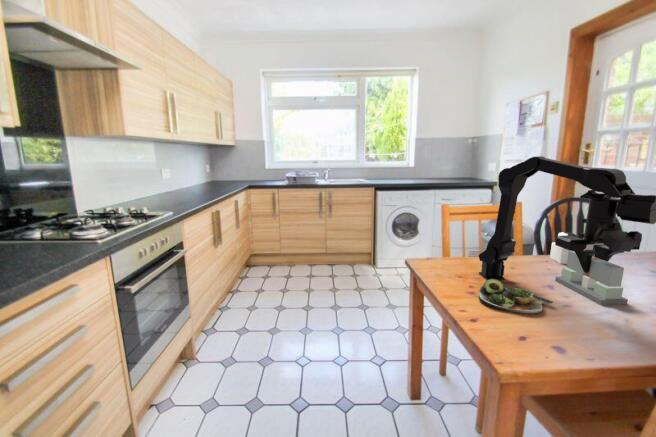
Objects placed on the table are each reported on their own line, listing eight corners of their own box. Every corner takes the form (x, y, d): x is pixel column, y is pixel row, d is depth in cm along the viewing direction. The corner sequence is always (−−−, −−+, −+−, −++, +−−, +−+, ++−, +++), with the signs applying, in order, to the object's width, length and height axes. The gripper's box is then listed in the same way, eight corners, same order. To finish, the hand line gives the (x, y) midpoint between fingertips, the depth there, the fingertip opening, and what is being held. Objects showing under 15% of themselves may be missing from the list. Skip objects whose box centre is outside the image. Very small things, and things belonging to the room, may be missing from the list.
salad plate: (549, 296, 98) (550, 283, 97) (556, 323, 83) (558, 307, 82) (481, 285, 107) (482, 272, 106) (476, 307, 92) (478, 292, 91)
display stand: (600, 304, 91) (603, 289, 90) (555, 280, 109) (557, 267, 108) (626, 304, 91) (629, 288, 90) (577, 280, 109) (579, 266, 108)
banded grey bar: (609, 286, 78) (612, 268, 77) (566, 267, 92) (568, 251, 91) (620, 286, 78) (624, 267, 77) (576, 266, 92) (578, 250, 91)
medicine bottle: (567, 258, 131) (571, 231, 129) (578, 264, 124) (583, 235, 122) (549, 258, 132) (553, 231, 129) (559, 264, 125) (564, 235, 122)
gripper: (592, 224, 74) (582, 285, 77) (668, 222, 74) (656, 283, 77) (557, 215, 85) (550, 269, 88) (624, 214, 85) (614, 267, 88)
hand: (591, 272), depth 85 cm, fingers closed on banded grey bar, 3 cm apart
